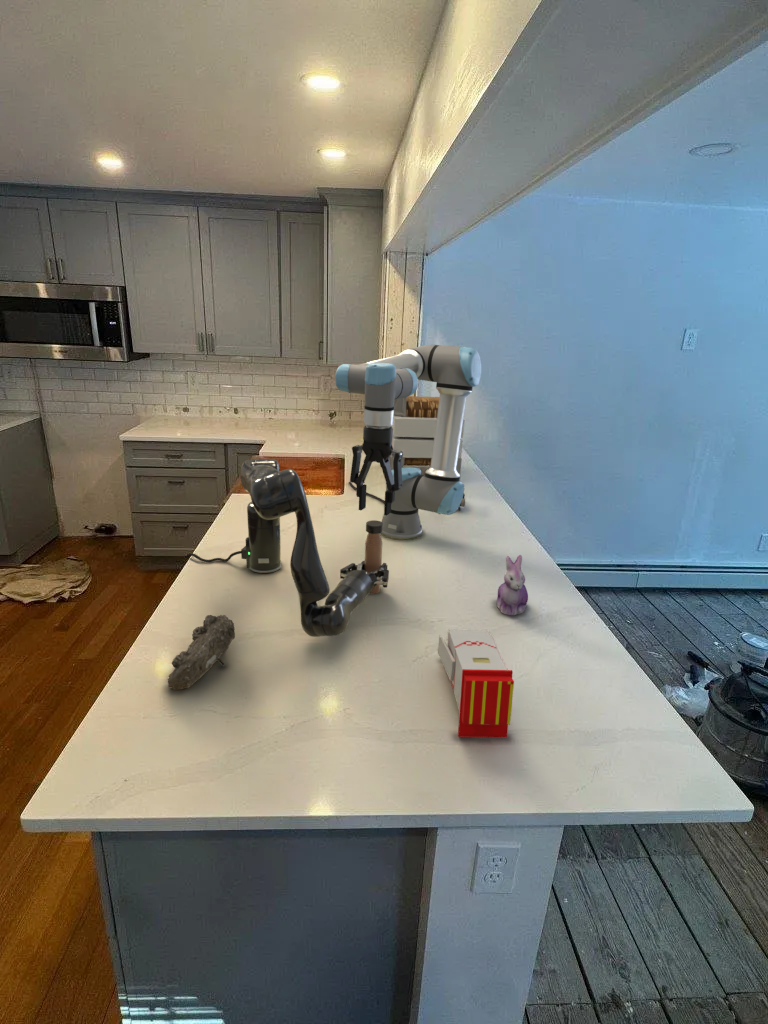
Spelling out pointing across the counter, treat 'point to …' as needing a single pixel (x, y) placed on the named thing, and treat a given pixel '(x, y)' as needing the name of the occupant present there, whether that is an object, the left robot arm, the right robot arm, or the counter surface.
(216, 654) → the fossil
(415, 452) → the grey slatted crate
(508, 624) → the counter surface
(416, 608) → the counter surface
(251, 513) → the left robot arm
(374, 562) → the bottle
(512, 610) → the figurine
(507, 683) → the toy
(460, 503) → the figurine character
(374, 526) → the cap
